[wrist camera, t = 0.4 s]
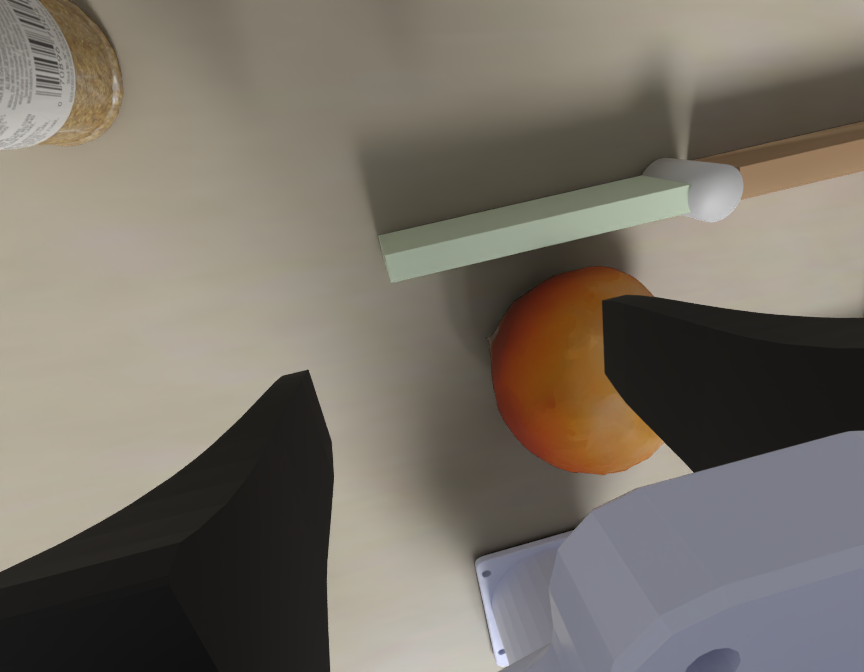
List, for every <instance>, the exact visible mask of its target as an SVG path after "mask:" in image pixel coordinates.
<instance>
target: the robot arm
mask: <svg viewBox="0 0 864 672" xmlns="http://www.w3.org/2000/svg"><path fill="white" fill-rule="evenodd" d="M602 318H603V345H604V372H605V375H606V376H607V378H608V379H609V381H610V382H611V383H612V385H613V386H614V388H615V389H616V391H617V392H618V393H619V395H620V396H621V397H622V399H623V400H624V401H625V403H626V404H627V405H628V406H629V407H630V408H631V409H632V410H633V411H634V412H635V413H636V414H637V415H638V416H639V417H640V418H641V419H642V420H643V421H644V422H645V423H646V424H647V425H648V426H649V427H650V428H651V429H652V430H653V431H654V432H655V433H656V434H657V435H658V436H659V437H660V438H661V439H662V440H663V441H664V442H665V443H666V444H667V445H668V446H669V447H670V448H671V449H672V450H673V451H674V452H675V453H676V454H677V455H678V456H679V457H680V458H681V459H682V460H683V461H684V462H685V463H686V465H687V466H688V467H689V468H690V469H691V470H692V471H693V472H694V473H691V474H688V475H684V476H680V477H677V478H673V479H669V480H666V481H662V482H658V483H654V484H651V485H647V486H643V487H640V488H636V489H634V490H632V491H630V492H627V493H625V494H623V495H621V496H619V497H617V498H615V499H613V500H611V501H609V502H607V503H605V504H603V505H601V506H599V507H597V508H595V509H593V510H592V511H591V512H590V513H589V514H588V515H587V516H586V517H585V518H584V519H583V521H582V522H581V523H580V524H579V525H578V526H577V527H576V528H575V529H574V530H573V531H569V532H566V533H562V534H559V535H555V536H551V537H548V538H544V539H541V540H537V541H534V542H530V543H527V544H523V545H520V546H516V547H513V548H509V549H506V550H502V551H499V552H495V553H492V554H488V555H485V556H482V557H479V558H478V559H477V560H476V562H475V568H476V573H477V577H478V582H479V587H480V591H481V596H482V601H483V605H484V610H485V615H486V619H487V624H488V628H489V633H490V638H491V642H492V647H493V652H494V656H495V660H496V664H497V665H498V666H502V667H503V666H507V665H509V666H507V667H505V668H504V669H502V670H500V671H498V672H864V318H821V317H803V316H788V315H775V314H764V313H756V312H748V311H740V310H732V309H725V308H719V307H712V306H706V305H700V304H694V303H688V302H682V301H676V300H670V299H664V298H658V297H650V296H642V295H622V296H618V297H614V298H610V299H606V300H602ZM333 483H334V469H333V454H332V441H331V438H330V435H329V432H328V429H327V426H326V423H325V419H324V416H323V413H322V410H321V407H320V404H319V401H318V398H317V395H316V392H315V388H314V385H313V382H312V379H311V376H310V373H309V370H305V371H301V372H297V373H292V374H288V375H284V376H282V377H280V378H279V379H278V380H277V381H276V382H275V383H274V384H273V385H272V386H271V387H270V388H269V389H268V390H267V391H266V392H265V393H264V394H263V395H262V396H261V397H260V398H259V399H258V400H257V401H256V403H255V404H254V405H253V406H252V407H251V408H250V409H249V410H248V411H247V412H246V413H245V414H244V415H243V416H242V417H241V418H240V419H239V420H238V421H237V422H236V423H235V424H234V425H233V426H232V427H231V428H229V429H228V430H227V431H226V432H225V433H224V434H223V435H222V436H221V437H220V438H219V439H218V440H217V441H216V442H215V443H214V444H212V445H211V446H210V447H209V448H208V449H207V450H206V451H204V452H203V453H202V454H201V455H199V456H198V457H197V458H196V459H195V460H193V461H192V462H191V463H189V464H188V465H187V466H185V467H184V468H183V469H182V470H180V471H179V472H178V473H176V474H175V475H174V476H172V477H171V478H169V479H168V480H166V481H165V482H163V483H162V484H160V485H159V486H157V487H156V488H154V489H153V490H151V491H150V492H148V493H147V494H145V495H144V496H142V497H141V498H139V499H138V500H136V501H135V502H133V503H132V504H130V505H129V506H127V507H125V508H124V509H122V510H120V511H118V512H117V513H115V514H113V515H112V516H110V517H108V518H106V519H105V520H103V521H101V522H100V523H98V524H96V525H94V526H92V527H90V528H89V529H87V530H85V531H83V532H81V533H79V534H77V535H76V536H74V537H72V538H70V539H68V540H66V541H64V542H62V543H60V544H58V545H56V546H54V547H52V548H50V549H48V550H46V551H44V552H42V553H40V554H38V555H35V556H33V557H31V558H29V559H27V560H25V561H23V562H21V563H19V564H16V565H14V566H12V567H10V568H8V569H6V570H4V571H2V572H0V672H330V658H329V636H328V608H327V559H328V547H329V534H330V522H331V510H332V497H333Z"/></svg>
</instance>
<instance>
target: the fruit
mask: <svg viewBox="0 0 864 672" xmlns="http://www.w3.org/2000/svg"><path fill="white" fill-rule="evenodd" d="M622 295H642V296H650V297H654V296H653V295H652V294H651V293H650V292H649V291H648V289H647V288H646V287H645V286H644V285H643V284H641V283H640V282H639V281H638V280H637V279H635V278H634V277H632V276H630V275H628V274H625V273H623V272H621V271H618V270H616V269H614V268H609V267H602V266H594V267H586V268H582V269H578V270H574V271H568V272H564V273H561V274H558V275H555V276H553V277H551V278H549V279H547V280H546V281H544V282H542V283H540V284H539V285H537V286H536V287H534V288H533V289H532V290H530V291H529V292H527V293H526V294H524V295H523V296H521V297H520V298H518V299H517V300H515V301H514V303H513V304H512V305H511V307H510V308H509V309H508V311H507V312H506V313H505V314H504V316H503V318H502V320H501V321H500V323H499V325H498V327H497V330H496V331H495V332H494V333H493V334H492V335H491V336H490V337H489V338H486V339H488V341H489V343H490V356H491V369H492V381H493V388H494V392H495V396H496V401H497V406H498V410H499V412H500V414H501V416H502V418H503V420H504V422H505V423H506V425H507V426H508V427H509V429H510V430H511V432H512V433H513V434H514V436H515V437H516V438H517V439H518V440H519V441H520V443H521V444H522V445H523V446H524V447H525V448H527V449H528V450H529V451H530V452H531V453H533V454H534V455H536V456H537V457H539V458H541V459H542V460H544V461H546V462H547V463H549V464H551V465H553V466H555V467H557V468H560V469H563V470H566V471H570V472H574V473H578V472H582V473H590V474H599V475H605V474H607V473H616V472H621V471H625V470H627V469H629V468H630V467H632V466H634V465H636V464H638V463H640V462H642V461H644V460H646V459H648V458H649V457H651V456H652V454H653V453H654V452H655V451H656V450H657V449H658V448H659V447H660V446H661V445H662V444H664V443H665V442H664V441H663V440H662V439H661V438H660V437H659V436H658V435H657V434H656V433H655V432H654V431H653V430H652V429H651V428H650V427H649V426H648V425H647V424H646V423H645V422H644V421H643V420H642V419H641V418H640V417H639V416H638V415H637V414H636V413H635V412H634V411H633V410H632V409H631V408H630V407H629V406H628V405H627V404H626V403H625V401H624V400H623V399H622V397H621V396H620V395H619V393H618V392H617V391H616V389H615V388H614V386H613V385H612V383H611V382H610V381H609V379H608V378H607V376H606V375H605V372H604V345H603V318H602V300H606V299H610V298H614V297H618V296H622Z"/></svg>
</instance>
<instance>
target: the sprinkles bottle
mask: <svg viewBox="0 0 864 672" xmlns="http://www.w3.org/2000/svg"><path fill="white" fill-rule="evenodd" d="M122 97H123V86H122V75H121V71H120V69H119V66H118V60H117V57H116V55H115V53H114V50H113V48H112V47H111V45H110V44H109V42H108V40H107V38H106V36H105V35H104V34H103V32H102V31H101V30H100V28H99V27H98V26H97V25H96V24H95V23H94V22H93V21H92V20H91V19H90V18H89V17H88V16H87V15H86V14H85V13H83V12H82V11H81V9H80V8H79V7H78V6H76V5H75V4H73V3H71V2H70V1H68V0H0V150H10V149H19V148H24V147H29V146H32V145H41V144H52V145H60V146H73V145H79V144H83V143H85V142H88V141H91V140H93V139H96V138H98V137H100V136H101V134H102V133H103V132H105V131H106V130H107V129H108V128H109V127H110V126H111V124H112V123H113V121H114V119H115V118H116V116H117V114H118V112H119V108H120V105H121V102H122Z"/></svg>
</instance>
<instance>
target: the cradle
mask: <svg viewBox="0 0 864 672" xmlns="http://www.w3.org/2000/svg"><path fill="white" fill-rule="evenodd" d="M692 161H701V162H710V163H718V164H727V165H731V166H733V167H735V168H736V169H738V171H739V172H740V173H741V175H742V178H743V193H742V197H741V199H740V200H742V199H746V198H750V197H755V196H759V195H763V194H767V193H771V192H776V191H780V190H784V189H788V188H793V187H797V186H801V185H805V184H809V183H814V182H818V181H822V180H826V179H831V178H835V177H839V176H843V175H847V174H852V173H856V172H860V171H864V121H862V122H858V123H853V124H849V125H845V126H840V127H836V128H831V129H827V130H823V131H818V132H814V133H809V134H805V135H801V136H796V137H792V138H788V139H783V140H779V141H774V142H770V143H766V144H761V145H757V146H752V147H748V148H744V149H739V150H735V151H731V152H726V153H722V154H717V155H713V156H709V157H704V158H700V159H695V160H692Z"/></svg>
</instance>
